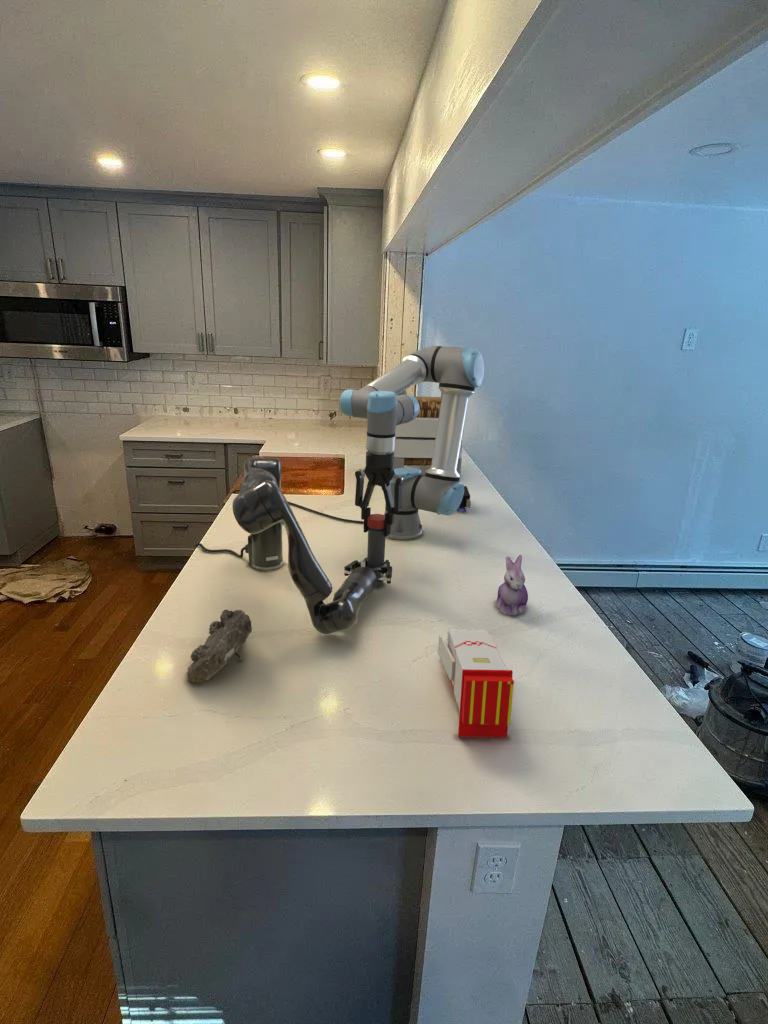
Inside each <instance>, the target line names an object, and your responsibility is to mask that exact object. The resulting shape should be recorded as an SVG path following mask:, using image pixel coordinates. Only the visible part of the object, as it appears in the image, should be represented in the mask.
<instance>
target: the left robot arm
mask: <svg viewBox="0 0 768 1024" xmlns="http://www.w3.org/2000/svg"><path fill="white" fill-rule="evenodd" d="M282 468H283V467H282V463H281V459H280V458H278V457H249V458H247V459H246V460H245V461H244V464H243V467H242V479H241V482H240V487H239V490H240V491H239V492H238V494H237V495H236V496H235V498H233V501H232V514H233V516H234V519H235V521H236V523H237V524H238V526H239V527H240V528H241V529H242V530H243V531H244V532H246V533H248V534H249V535H248V536H247V543H246V544H245V545H244V546H243V547H242V548H241V549H240V554H238V553H237V552H235V551H234V550H232V549H228V548H227V549H226V548H222V549H221V548H220V549H208V548H206V547H205V546H204V545H203V543H201V542H198V543H196V544H195V545H194V547H196V548H198V547H200V548H201V549H202V550H203V551H204V552H206V553H230V554H232V555H234V556H235V557H237V558H239V559H241V558H243V557H244V551H245V553H246V554H248V566H249V567H251V568H253V569H254V570H257V571H263V572H267V571H268V572H269V571H274V570H277V569H279V568H281V567H282V566H283V565H284V557H283V526H284V528H285V531H286V535H287V536H286V537H287V548H288V549H287V568H288V574H289V576H290V578H291V580H292V582H293V584H294V585H295V587H296V588H297V590H298V591H299V593H300V595H301V596H302V598H303V599H304V602H305V604H306V607H307V610H308V613H309V618H310V621H311V624H312V627H313V628H314V629H315V631H316V632H318V633H320V634H321V635H331V634H334V633H338V632H341V631H345V630H348V629H350V628H352V627H354V625H355V624H356V623H357V622H358V617H359V612H360V608H361V607H362V605H363V604H364V603H365V602H366V601H367V600H368V598H369V597H370V596H371V595H372V593H373V592H374V590H375V589H376V588H375V587H376V585H377V583H379V582H381V581H383V582H386V584H389V585H390V584H392V579H393V578H392V577H393V566H391V561H390V560H389V559H384V563H383V565H381V566H379V565H378V566H376V567H374V568H370V567H367V557H364V558H363V559H362V560H360V561H359V560H353V561H352V562H350V563H348V564H346V565H344V568H343V576H345V577H346V578H345V579H344V581H343V582H342V584H341V586H340V587H339V588H338V589H337V590H336V591H335V593H334V595H333V597H332V601H329V602H327V603H325V602H324V600H327V599H328V597H330V596H331V594H332V593H333V584H332V583H331V581H330V579H329V577H328V576H327V574H326V573H325V571H324V569H323V568H322V566H321V565H320V563H319V562H318V560H317V558H316V556H315V554H314V552H313V551H312V549H311V547H310V544H309V543H308V540H307V538H306V535H305V534H304V532H303V529H302V527H301V526H300V525H301V524H300V523H299V521H298V519H297V517H296V516H295V514H294V511H293V509H292V507H291V506H290V504H288V502H289V501H288V502H287V498H286V496H285V495H284V493H283V492H282V478H283V476H282V475H283V469H282ZM282 522H283V523H282ZM383 575H384V576H383Z"/></svg>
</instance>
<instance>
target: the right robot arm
mask: <svg viewBox="0 0 768 1024" xmlns="http://www.w3.org/2000/svg"><path fill="white" fill-rule="evenodd" d="M484 377H485V363H484V358H483V356H482V353H481V352H480V351H479V350H477V349H475V348H468V347H458V346H457V347H456V346H443V345H442V346H441V345H431V346H427V347H423V348H421V349H418V350H416V351H413V352H412V353H409V354H407V355H406V356H405V357H404V358H402V359H401V361H400V364H398V365H396V366H395V367H393V368H391V369H389V371H387V372H385V373H383V374H382V375H380V376H379V377H377V378H376V379H374V380H372V381H371V382H370V383H369V382H368V384H366V385H365V386H363V387H361V388H359V389H355V388H353V389H352V388H351V389H349V388H348V389H345V390H344V391H342V393H341V395H340V398H339V408H340V411H341V413H342V414H343V415H345V416H349V417H352V418H358V419H365V420H366V440H365V441H366V444H365V449H366V452H365V467H364V469H358V470H356V471H355V472H354V476H355V496H354V506H355V507H359V509H361V510H360V511H361V512H360V519H361V520H357V519H348V518H342V517H337V516H333V515H331V514H327V513H324V512H320V511H318V510H315V509H312V508H309V507H305V506H302V505H300V504H297V503H294V502H292V501H287V502H288V504H289V505H291V506H293V507H297V508H300V509H303V510H305V511H309V512H311V513H315V514H318V515H321V516H324V517H328V518H330V519H333V520H338V521H341V522H342V521H343V522H348V523H355V524H363V533H368V526H367V518H368V516H369V515H371V510H372V507H369V506H370V502H371V499H372V496H373V493H374V489H375V487H376V486H379V487H380V488H381V491H382V492H383V497H384V501H385V504H384V505H385V507H384V508H385V509H384V513H383V515H385V528H384V536H385V538H387V539H389V540H395V541H410V540H415V539H418V538H420V537H421V536H422V535H423V525H422V524H421V518H420V515H419V510H421V511H425V512H429V513H433V514H434V513H435V514H437V515H443V516H452V515H453V514H454V513H456V512H457V509H458V507H459V506H460V504H461V501H462V498H463V495H464V486H465V485H464V483H462V482H461V474H460V475H459V474H458V472H457V464H458V458H459V452H460V446H461V440H462V441H463V438H462V434H463V435H464V432H463V428H464V429H465V421H466V415H467V410H468V404H469V398H470V397H471V396H472V395H474V394H475V389H476V388H479V387H480V386H482V384H483V381H484ZM426 382H427V383H428V382H429V383H436V384H438V390H439V391H440V393H441V392H442V399H441V406H440V412H439V418H438V425H437V431H436V437H435V444H434V450H433V456H432V463H431V465H430V466H429V468H427V469H426V470H425V471H424V472H425V473H424V474H422V470H421V468H419V467H413V466H411V467H409V466H406V467H404V468H397V469H394V453H393V451H394V450H395V430H396V425H400V424H403V423H407V422H410V421H412V420H414V419H415V418H416V417H417V416H418V414H419V410H420V406H419V403H418V401H417V399H416V398H415V397H416V396H415V395H414V396H415V397H414V396H413V395H412V394H408V393H407V395H405V394H402V395H399V394H400V393H402V392H403V391H404V390H406V391H407V389H409V388H410V387H412V386H417V385H420V384H421V383H426ZM365 477H366V478H367V480H368V481H367V484H366V489H365V493H364V488H365V487H364V485H365ZM459 480H460V482H459ZM239 491H240V489H235V490H233V491H232V494H235V493H239Z"/></svg>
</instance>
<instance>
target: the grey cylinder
mask: <svg viewBox="0 0 768 1024" xmlns="http://www.w3.org/2000/svg"><path fill="white" fill-rule="evenodd" d="M385 554H386V537H385V536H384V528H383V529H373V528H370V527H368V531H367V556H366V558H367V567H370V568H374V567H376V566H378V565H379V566H381V565H383V563H384V562H385V558H386V557H385ZM384 575H385V574H384ZM384 575H383V576H384ZM383 586H384V581H381V582H379V583H377V585H376V587H375V589H380V588H382V587H383Z"/></svg>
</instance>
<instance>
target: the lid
mask: <svg viewBox="0 0 768 1024" xmlns="http://www.w3.org/2000/svg"><path fill="white" fill-rule="evenodd" d="M367 526H368V527H370V528H373V529H383V528H385V515H384V513H383V514H382V513H372V514H371V515H369V516H368V518H367Z"/></svg>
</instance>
